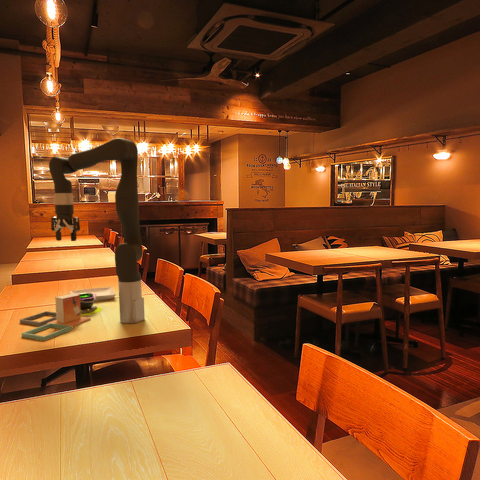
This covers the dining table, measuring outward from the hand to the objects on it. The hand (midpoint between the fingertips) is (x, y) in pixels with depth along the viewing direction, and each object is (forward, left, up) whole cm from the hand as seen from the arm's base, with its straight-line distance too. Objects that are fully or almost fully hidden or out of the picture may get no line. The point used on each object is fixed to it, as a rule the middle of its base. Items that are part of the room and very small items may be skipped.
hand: (66, 240), depth 177 cm
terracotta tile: (-9, +10, -33) cm, 36 cm away
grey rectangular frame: (+4, +11, -33) cm, 35 cm away
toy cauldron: (-3, -6, -34) cm, 34 cm away
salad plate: (+12, -27, -34) cm, 45 cm away
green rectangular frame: (-12, +23, -33) cm, 42 cm away
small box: (-9, +10, -32) cm, 35 cm away
